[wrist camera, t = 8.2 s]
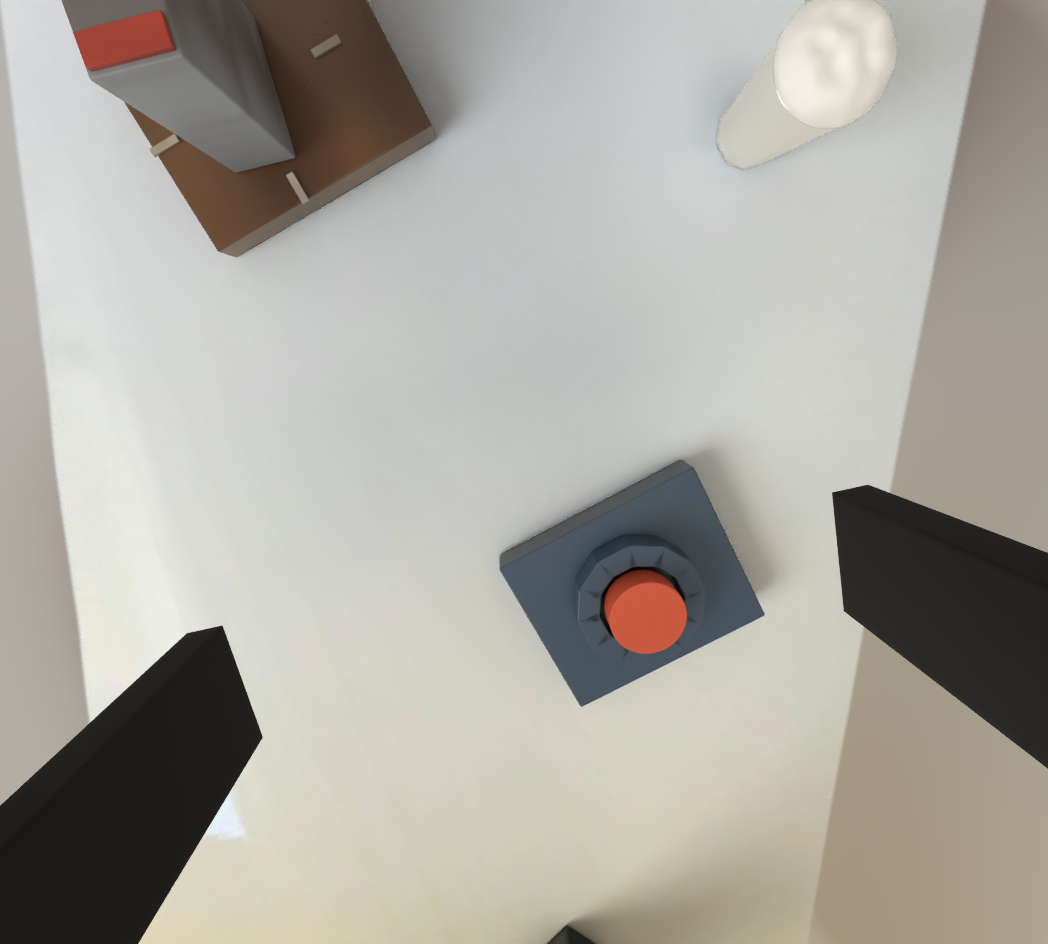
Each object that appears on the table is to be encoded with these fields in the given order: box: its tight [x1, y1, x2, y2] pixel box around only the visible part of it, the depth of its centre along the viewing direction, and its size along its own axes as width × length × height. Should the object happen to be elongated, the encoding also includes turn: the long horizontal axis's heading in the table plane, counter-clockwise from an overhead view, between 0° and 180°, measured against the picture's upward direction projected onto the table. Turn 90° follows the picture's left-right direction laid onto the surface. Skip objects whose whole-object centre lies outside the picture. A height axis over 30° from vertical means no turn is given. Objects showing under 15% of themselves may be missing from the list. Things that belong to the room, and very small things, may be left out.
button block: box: [500, 460, 764, 707], centre depth 33 cm, size 12×10×4 cm
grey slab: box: [62, 0, 296, 173], centre depth 22 cm, size 6×3×10 cm, turn 13°
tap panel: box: [125, 0, 435, 257], centre depth 28 cm, size 12×10×2 cm
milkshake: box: [716, 0, 897, 169], centre depth 25 cm, size 5×5×10 cm
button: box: [604, 570, 687, 654], centre depth 31 cm, size 4×4×2 cm
